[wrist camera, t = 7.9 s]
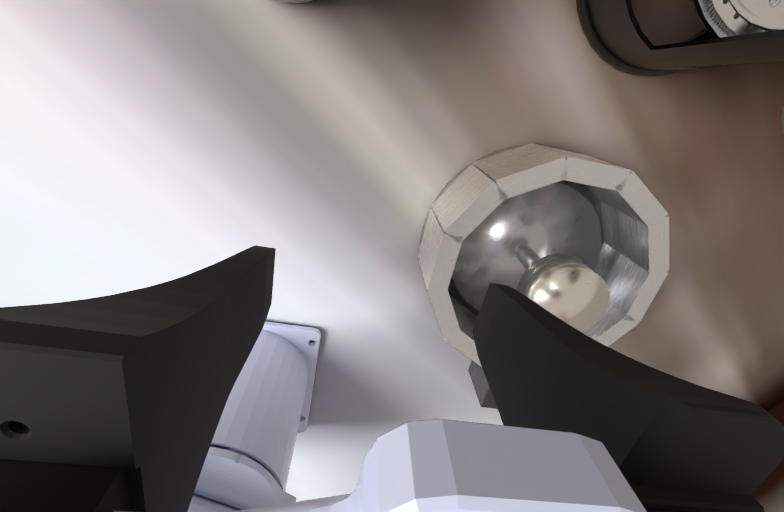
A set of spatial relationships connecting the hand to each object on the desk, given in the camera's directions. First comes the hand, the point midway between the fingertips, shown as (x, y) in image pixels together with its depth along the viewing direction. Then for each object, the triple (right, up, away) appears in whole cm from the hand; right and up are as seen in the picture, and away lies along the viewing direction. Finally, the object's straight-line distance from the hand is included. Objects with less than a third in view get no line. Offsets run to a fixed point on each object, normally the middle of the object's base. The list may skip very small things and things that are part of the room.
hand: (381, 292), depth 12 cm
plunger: (+8, +2, +10) cm, 13 cm away
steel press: (+8, 0, +11) cm, 14 cm away
